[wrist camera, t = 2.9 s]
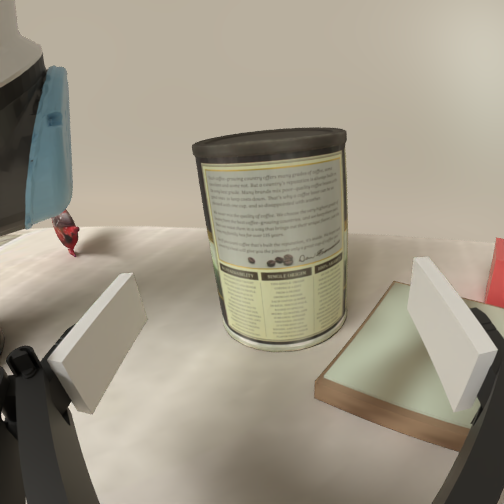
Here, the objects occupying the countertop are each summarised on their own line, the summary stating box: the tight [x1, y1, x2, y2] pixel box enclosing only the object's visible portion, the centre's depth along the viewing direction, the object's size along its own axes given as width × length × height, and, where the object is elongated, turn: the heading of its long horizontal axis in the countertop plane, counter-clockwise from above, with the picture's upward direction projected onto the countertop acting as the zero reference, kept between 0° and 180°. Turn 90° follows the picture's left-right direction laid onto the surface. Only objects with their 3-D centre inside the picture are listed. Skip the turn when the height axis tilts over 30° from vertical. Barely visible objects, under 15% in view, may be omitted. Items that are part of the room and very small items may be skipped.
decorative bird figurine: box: [51, 209, 80, 257], centre depth 41 cm, size 3×18×10 cm, turn 45°
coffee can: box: [192, 128, 348, 352], centre depth 24 cm, size 10×10×14 cm
